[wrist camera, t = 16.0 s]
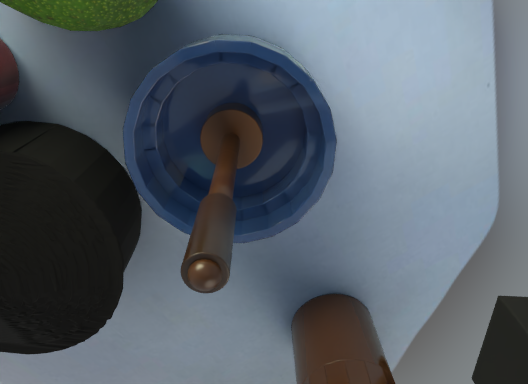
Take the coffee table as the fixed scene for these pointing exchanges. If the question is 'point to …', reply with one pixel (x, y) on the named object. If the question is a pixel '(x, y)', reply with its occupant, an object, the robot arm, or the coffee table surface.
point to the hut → (60, 236)
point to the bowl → (193, 118)
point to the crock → (337, 343)
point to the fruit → (83, 12)
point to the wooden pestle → (220, 195)
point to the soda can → (7, 76)
